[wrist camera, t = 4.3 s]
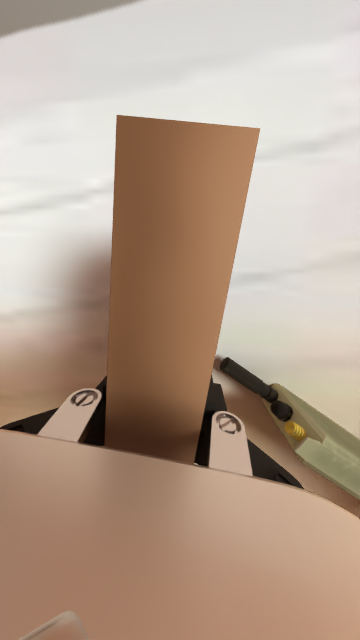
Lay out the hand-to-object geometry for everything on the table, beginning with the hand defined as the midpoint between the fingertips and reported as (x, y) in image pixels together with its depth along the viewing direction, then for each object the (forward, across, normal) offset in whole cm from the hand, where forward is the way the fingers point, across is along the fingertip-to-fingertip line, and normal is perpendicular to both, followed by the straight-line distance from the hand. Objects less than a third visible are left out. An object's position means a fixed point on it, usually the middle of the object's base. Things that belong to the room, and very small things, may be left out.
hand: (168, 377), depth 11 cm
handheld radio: (+6, -15, +6) cm, 18 cm away
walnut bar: (+1, 0, 0) cm, 1 cm away
